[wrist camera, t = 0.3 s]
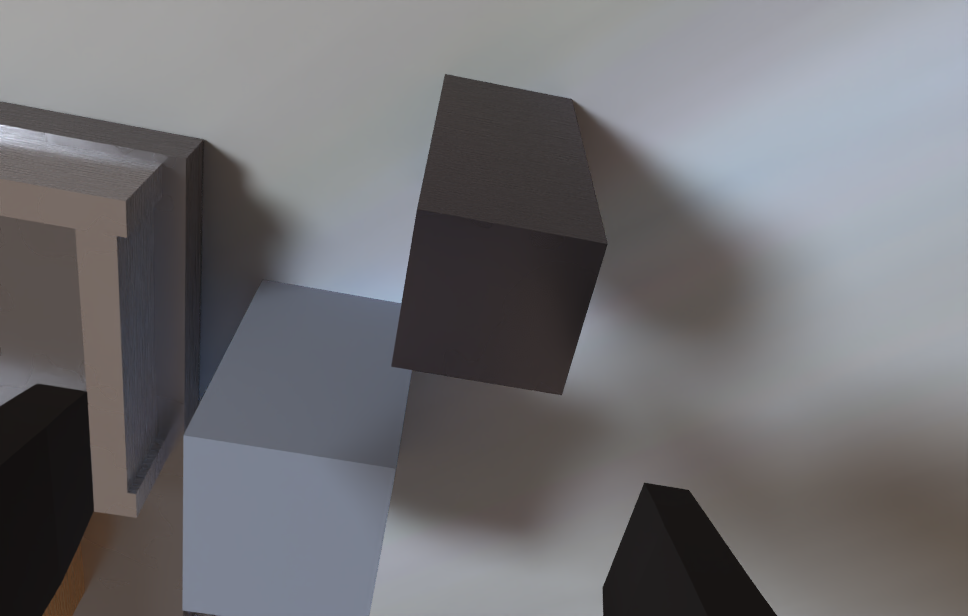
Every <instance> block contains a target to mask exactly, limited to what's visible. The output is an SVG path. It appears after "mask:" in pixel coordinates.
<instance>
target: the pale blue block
mask: <svg viewBox="0 0 968 616" xmlns="http://www.w3.org/2000/svg"><path fill="white" fill-rule="evenodd" d="M400 310H401V303H395V302H390V301H384V300H378V299H372V298H367V297H361V296H355V295H349V294H344V293H338V292H332V291H326V290H321V289H315V288H309V287H303V286H298V285H292V284H286V283H280V282H275V281H269V280H262V282H261V284H260V286H259V288H258V290H257V292H256V294H255V296H254V298H253V300H252V301H251V303H250V305H249V307H248V309H247V311H246V313H245V315H244V317H243V319H242V321H241V323H240V325H239V327H238V329H237V331H236V333H235V335H234V337H233V339H232V341H231V343H230V345H229V347H228V349H227V351H226V353H225V355H224V357H223V359H222V361H221V362H220V364H219V366H218V368H217V370H216V372H215V374H214V376H213V378H212V380H211V382H210V384H209V386H208V388H207V390H206V392H205V394H204V396H203V398H202V400H201V402H200V404H199V406H198V408H197V410H196V412H195V414H194V416H193V418H192V420H191V421H190V423H189V425H188V427H187V429H186V431H185V433H184V435H183V604H182V610H183V611H190V612H197V613H204V614H211V615H219V616H369V614H370V609H371V603H372V598H373V592H374V587H375V582H376V576H377V571H378V565H379V560H380V554H381V549H382V543H383V538H384V532H385V527H386V522H387V516H388V511H389V505H390V500H391V494H392V489H393V483H394V478H395V472H396V467H397V461H398V454H399V448H400V442H401V435H402V429H403V423H404V417H405V410H406V404H407V398H408V392H409V385H410V379H411V373H412V370H408V369H402V368H396V367H391V364H392V358H393V352H394V346H395V340H396V334H397V328H398V322H399V316H400Z"/></svg>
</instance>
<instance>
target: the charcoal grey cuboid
mask: <svg viewBox="0 0 968 616" xmlns="http://www.w3.org/2000/svg"><path fill="white" fill-rule="evenodd" d="M606 247H607V240H606V236H605V232H604V228H603V224H602V220H601V216H600V212H599V208H598V204H597V199H596V195H595V191H594V187H593V183H592V179H591V175H590V171H589V167H588V163H587V159H586V155H585V151H584V147H583V143H582V139H581V135H580V131H579V127H578V122H577V118H576V114H575V110H574V106H573V102H572V99H568V98H563V97H558V96H553V95H548V94H543V93H538V92H533V91H528V90H523V89H518V88H513V87H508V86H503V85H497V84H492V83H487V82H482V81H477V80H472V79H467V78H462V77H457V76H452V75H447V74H445V77H444V82H443V87H442V92H441V96H440V101H439V106H438V111H437V116H436V121H435V125H434V130H433V135H432V140H431V145H430V149H429V154H428V159H427V164H426V169H425V174H424V178H423V183H422V188H421V193H420V198H419V202H418V207H417V213H416V219H415V225H414V231H413V237H412V243H411V249H410V255H409V261H408V267H407V273H406V280H405V286H404V292H403V298H402V304H401V310H400V316H399V322H398V328H397V334H396V340H395V346H394V352H393V358H392V364H391V367H396V368H402V369H408V370H414V371H420V372H426V373H432V374H438V375H444V376H450V377H456V378H462V379H468V380H474V381H480V382H486V383H492V384H498V385H504V386H510V387H516V388H522V389H528V390H534V391H540V392H546V393H552V394H558V395H562V392H563V389H564V386H565V382H566V379H567V376H568V373H569V369H570V366H571V363H572V359H573V356H574V353H575V349H576V346H577V343H578V340H579V336H580V333H581V330H582V326H583V323H584V320H585V316H586V313H587V310H588V307H589V303H590V300H591V297H592V293H593V290H594V287H595V283H596V280H597V277H598V274H599V270H600V267H601V264H602V260H603V257H604V254H605V250H606Z"/></svg>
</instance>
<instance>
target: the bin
mask: <svg viewBox="0 0 968 616" xmlns="http://www.w3.org/2000/svg"><path fill="white" fill-rule="evenodd" d="M202 185H203V139H198V138H192V137H187V136H182V135H176V134H171V133H166V132H160V131H155V130H150V129H144V128H139V127H134V126H128V125H123V124H117V123H112V122H107V121H101V120H96V119H91V118H85V117H80V116H75V115H69V114H64V113H59V112H53V111H48V110H42V109H37V108H32V107H26V106H21V105H16V104H10V103H5V102H0V406H1V405H3V404H4V403H6V402H7V401H9V400H11V399H12V398H14V397H16V396H17V395H19V394H20V393H22V392H24V391H25V390H27V389H29V388H30V387H32V386H34V385H35V384H37V383H38V384H44V385H51V386H57V387H63V388H69V389H75V390H81V391H87V396H88V413H89V430H90V448H91V465H92V482H93V499H94V512H93V514H92V516H91V519H90V521H89V523H88V526H87V528H86V530H85V532H84V535H83V537H82V539H81V542H80V544H79V546H78V549H77V551H76V553H75V555H74V557H73V559H72V562H71V564H70V566H69V568H68V570H67V572H66V574H65V577H64V579H63V581H62V583H61V585H60V587H59V588H58V590H57V592H56V593H55V595H54V597H53V598H52V600H51V602H50V604H49V605H48V607H47V609H46V610H45V612H44V613H43V615H42V616H195V612H190V611H183V610H182V604H183V435H184V433H185V431H186V429H187V427H188V425H189V423H190V421H191V420H192V418H193V416H194V414H195V412H196V410H197V408H198V406H199V356H200V299H201V242H202Z"/></svg>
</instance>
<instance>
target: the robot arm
mask: <svg viewBox="0 0 968 616" xmlns="http://www.w3.org/2000/svg"><path fill="white" fill-rule="evenodd" d="M93 512H94V499H93V482H92V465H91V448H90V430H89V413H88V396H87V391H81V390H75V389H69V388H63V387H57V386H51V385H44V384H38V383H37V384H35V385H34V386H32V387H30V388H29V389H27V390H25V391H24V392H22V393H20V394H19V395H17V396H16V397H14V398H12V399H11V400H9V401H7V402H6V403H4V404H3V405H1V406H0V616H42V615H43V613H44V612H45V610H46V609H47V607H48V605H49V604H50V602H51V600H52V598H53V597H54V595H55V593H56V592H57V590H58V588H59V587H60V585H61V583H62V581H63V579H64V577H65V574H66V572H67V570H68V568H69V566H70V564H71V562H72V559H73V557H74V555H75V553H76V551H77V549H78V546H79V544H80V542H81V539H82V537H83V535H84V532H85V530H86V528H87V526H88V523H89V521H90V519H91V516H92V514H93ZM603 616H777V615H776V614H775V612H774V611H773V609H772V608H771V607H770V605H769V604H768V603H767V601H766V600H765V599H764V597H763V596H762V594H761V593H760V592H759V590H758V589H757V587H756V586H755V585H754V583H753V582H752V580H751V579H750V578H749V576H748V575H747V573H746V572H745V570H744V569H743V568H742V566H741V565H740V563H739V562H738V560H737V559H736V558H735V556H734V555H733V553H732V552H731V550H730V549H729V547H728V546H727V545H726V543H725V542H724V540H723V539H722V537H721V536H720V534H719V533H718V531H717V530H716V528H715V527H714V526H713V524H712V523H711V521H710V520H709V518H708V517H707V515H706V514H705V512H704V511H703V510H702V508H701V507H700V505H699V504H698V502H697V501H696V500H695V498H694V497H693V495H692V494H691V492H690V491H689V490H685V489H679V488H673V487H667V486H661V485H655V484H649V483H644V485H643V487H642V490H641V492H640V495H639V498H638V500H637V503H636V505H635V508H634V510H633V513H632V515H631V518H630V520H629V523H628V525H627V528H626V530H625V533H624V535H623V538H622V540H621V543H620V545H619V548H618V550H617V553H616V555H615V558H614V560H613V563H612V566H611V568H610V571H609V573H608V576H607V578H606V581H605V583H604V586H603Z"/></svg>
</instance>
